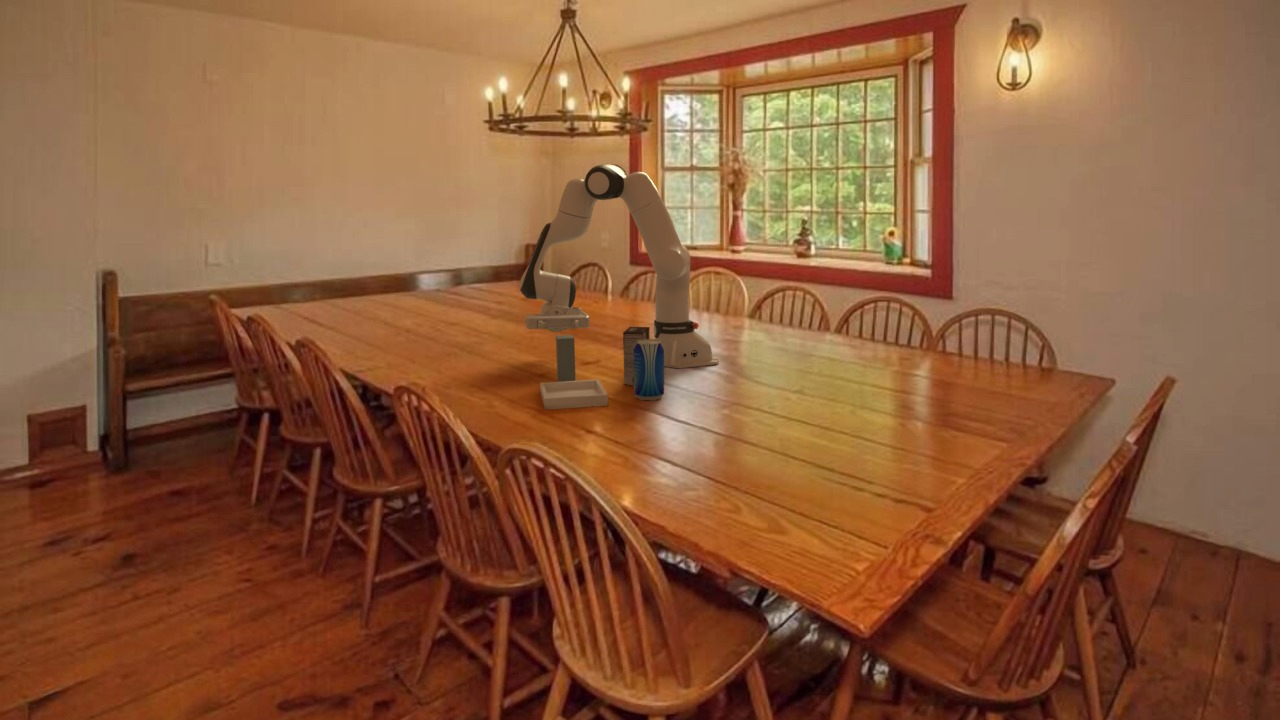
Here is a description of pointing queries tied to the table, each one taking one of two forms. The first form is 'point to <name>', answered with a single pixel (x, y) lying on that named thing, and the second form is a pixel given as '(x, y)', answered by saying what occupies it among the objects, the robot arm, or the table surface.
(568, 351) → the slate block
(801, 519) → the table surface
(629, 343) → the coffee box
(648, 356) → the beer can
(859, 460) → the table surface
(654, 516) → the table surface
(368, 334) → the table surface
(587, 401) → the bin
